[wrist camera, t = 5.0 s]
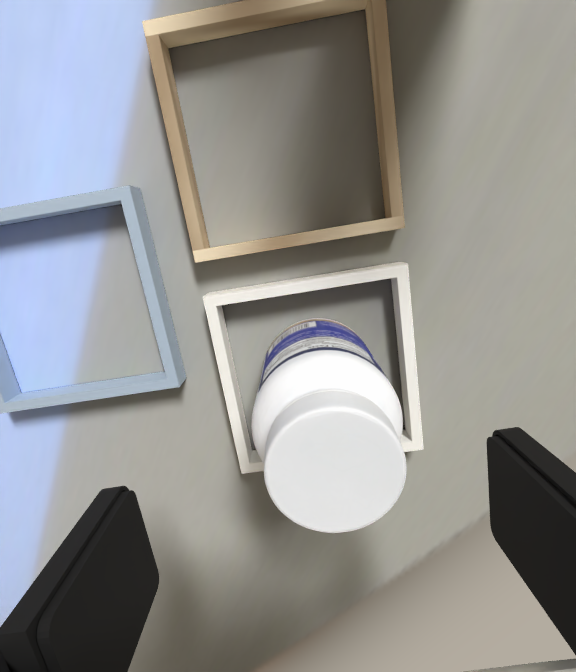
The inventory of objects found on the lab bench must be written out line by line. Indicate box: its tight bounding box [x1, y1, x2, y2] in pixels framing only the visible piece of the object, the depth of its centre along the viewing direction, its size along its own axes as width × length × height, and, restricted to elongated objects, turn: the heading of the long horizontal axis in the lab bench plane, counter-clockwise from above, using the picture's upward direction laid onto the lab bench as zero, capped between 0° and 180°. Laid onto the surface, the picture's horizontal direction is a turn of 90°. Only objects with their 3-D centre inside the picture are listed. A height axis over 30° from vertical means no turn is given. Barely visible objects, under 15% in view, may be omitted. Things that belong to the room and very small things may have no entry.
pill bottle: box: [251, 318, 406, 533], centre depth 15 cm, size 5×5×9 cm
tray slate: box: [0, 185, 186, 414], centre depth 18 cm, size 9×9×1 cm
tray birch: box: [142, 0, 405, 263], centre depth 16 cm, size 9×9×1 cm
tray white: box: [203, 262, 423, 474], centre depth 19 cm, size 9×9×1 cm
